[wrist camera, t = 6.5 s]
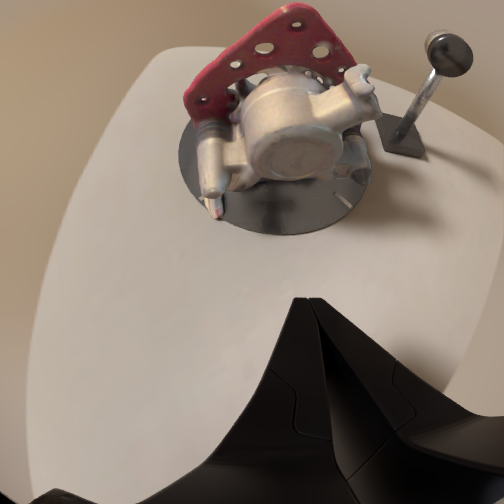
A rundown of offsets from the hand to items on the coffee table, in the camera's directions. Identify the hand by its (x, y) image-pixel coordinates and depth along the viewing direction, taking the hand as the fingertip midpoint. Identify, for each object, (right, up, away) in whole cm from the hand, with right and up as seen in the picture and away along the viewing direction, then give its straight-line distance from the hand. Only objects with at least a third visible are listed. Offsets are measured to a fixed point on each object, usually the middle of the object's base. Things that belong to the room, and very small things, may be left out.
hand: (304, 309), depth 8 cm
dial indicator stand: (+11, +11, +12) cm, 20 cm away
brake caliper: (0, +8, +11) cm, 14 cm away
